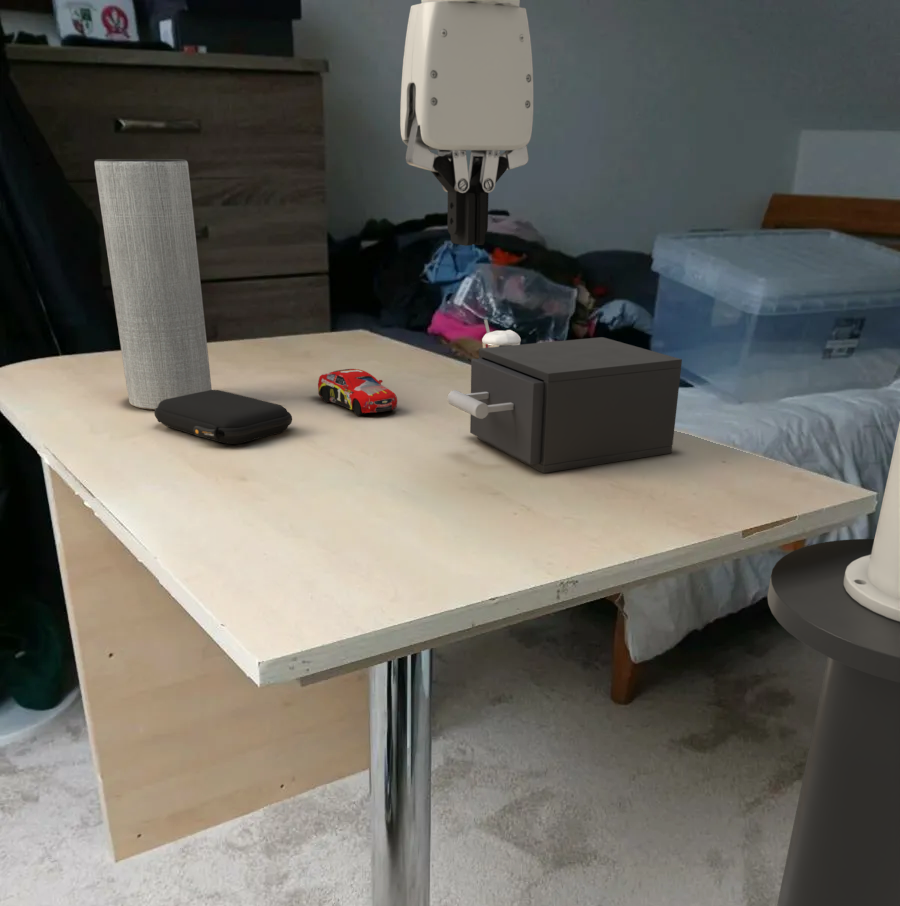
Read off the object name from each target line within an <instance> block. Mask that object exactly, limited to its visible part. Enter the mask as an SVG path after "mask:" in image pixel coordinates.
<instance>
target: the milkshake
mask: <svg viewBox="0 0 900 906" xmlns="http://www.w3.org/2000/svg"><path fill="white" fill-rule="evenodd" d="M483 321H484V322H483V323H484V327H485V332H486V333H485V334H484V335H483V337H482V338H481V343H482V344H481V345H482V347H481V348H490V347H501V346H512V345H521V341H522V339H521V337H520V335H519V333H517V332H515V331H513V330H512V329H506V330H494V331H491V330H490V327H489V322H488V319H487V318H486V319H483Z"/></svg>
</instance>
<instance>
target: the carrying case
mask: <svg viewBox="0 0 900 906" xmlns="http://www.w3.org/2000/svg"><path fill="white" fill-rule="evenodd" d="M153 414H154V417H155V418H156V420H157V422H158V423H161V424H162V425H164V426H165V427H168V428H171V429H173V430H177V431H181V432H183V433H187V434H191V435H194V436H197V437H198V438H199V437H200V438H204V439H207V440H212V441H215V442H218V443H221V444H226V445H239V444H243V443H248V442H252V441H254V440H258V439H262V438H266V437H270V436H273V435H277V434H281V433H284V432H285V431H286V430H287V429H288V428H289V426H290V425H291V424H292V422H293V416H292V414H291V412H289V411H288V410H287V408H286V407H285V406H283V405H281V404H278V403H274V402H270V401H267V400H262V399H258V398H254V397H250V396H246V395H242V394H237V393H233V392H228V391H224V390H220V389H212V390H208V391H203V392H198V393H194V394H189V395H184V396H179V397H175V398H170V399H165V400H163V401H161V402H160V403H159V405H158V407H157V408H156V409H155V410H154V412H153Z"/></svg>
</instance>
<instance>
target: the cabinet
mask: <svg viewBox="0 0 900 906" xmlns="http://www.w3.org/2000/svg"><path fill="white" fill-rule="evenodd" d="M480 358H481V359H484V360H487V361H489V362H492V363H494V364H496V363H499V364H501V365H504V366H507V367H509V368H512V369H515V370H517V371H520V372H523V373H525V374H528V375H531V376H533V377H536V378H539V379H541V380H544V397H543V417H542V438H541V459H540V463H534V464H529V463H527V462H525V461H523V460H521V459H519V458H517V457H516V456H514V455H512V454H510V453H508V452H506V451H504V450H502V449H500V448H498V447H496V446H494V445H493V444H491V443H489V442H487V441H485V440H483V439H481V438H479V437H477V436H476V437H477V439H478V440H480V441H481V442H484V443H485V444H487V445H489V446H491V447H493V448H495V449H497V450H498V451H501V452H502V453H505V454H507V455H508V456H510V457H512V458H514V459H516V460H518V461H519V462H522V463H523V464H525V465H528V466H529V467H531V468H533V469H535V470H537V471H539V472H540V473H542V474H547V473H553V472H560V471H566V470H573V469H579V468H585V467H591V466H598V465H603V464H610V463H616V462H624V461H628V460H636V459H643V458H648V457H654V456H661V455H666V454H672V453H673V445H674V435H675V428H676V417H677V408H678V400H679V392H680V382H681V372H682V365H683V364H682V363H683V359H682V358H678V357H675V356H671V355H668V354H664V353H661V352H658V351H653V350H649V349H646V348H643V347H639V346H635V345H633V344H628V343H624V342H622V341H617V340H614V339H611V338H607V337H603V336H599V337H590V338H578V339H577V338H576V339H567V340H566V339H565V340H556V341H546V342H534V343H524V344H523V343H522V344H520V345H512V346H501V347H490V348H483V347H480V348H478V359H480Z"/></svg>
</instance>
